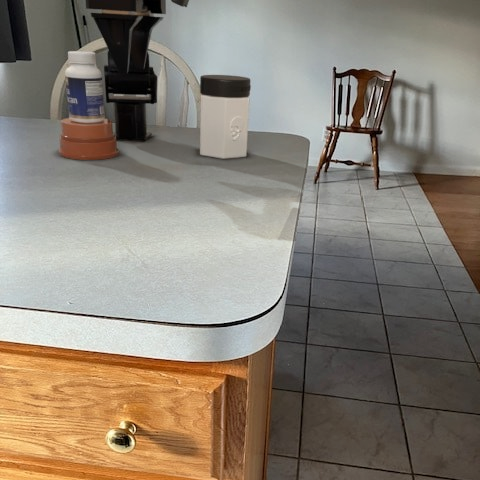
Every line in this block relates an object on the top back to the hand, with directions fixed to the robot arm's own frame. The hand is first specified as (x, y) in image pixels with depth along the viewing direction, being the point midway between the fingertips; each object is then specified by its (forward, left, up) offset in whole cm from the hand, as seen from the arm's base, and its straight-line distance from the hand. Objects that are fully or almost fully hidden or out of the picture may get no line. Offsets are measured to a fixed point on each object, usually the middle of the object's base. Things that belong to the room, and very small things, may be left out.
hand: (132, 71), depth 77 cm
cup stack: (-5, -9, -13) cm, 17 cm away
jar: (-12, +12, -13) cm, 22 cm away
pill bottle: (-5, -9, -8) cm, 13 cm away
